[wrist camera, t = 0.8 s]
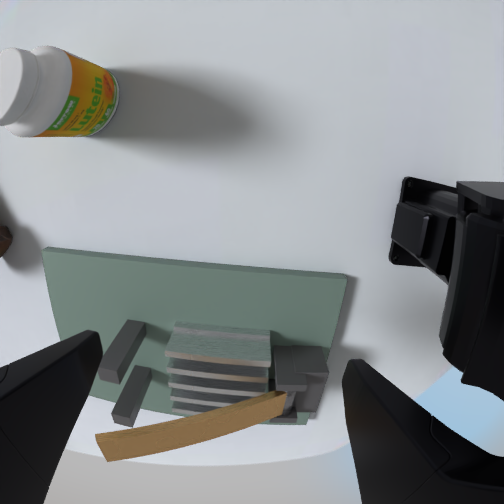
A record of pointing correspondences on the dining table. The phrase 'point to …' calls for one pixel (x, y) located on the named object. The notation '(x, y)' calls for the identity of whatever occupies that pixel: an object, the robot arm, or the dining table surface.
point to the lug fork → (117, 366)
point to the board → (186, 307)
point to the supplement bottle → (54, 93)
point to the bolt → (4, 240)
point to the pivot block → (299, 377)
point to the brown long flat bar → (194, 427)
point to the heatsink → (216, 366)
